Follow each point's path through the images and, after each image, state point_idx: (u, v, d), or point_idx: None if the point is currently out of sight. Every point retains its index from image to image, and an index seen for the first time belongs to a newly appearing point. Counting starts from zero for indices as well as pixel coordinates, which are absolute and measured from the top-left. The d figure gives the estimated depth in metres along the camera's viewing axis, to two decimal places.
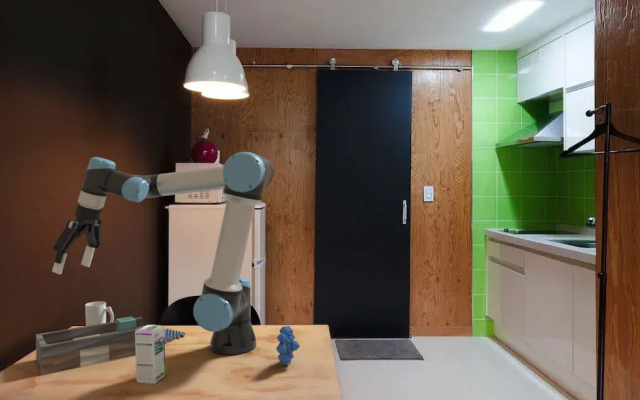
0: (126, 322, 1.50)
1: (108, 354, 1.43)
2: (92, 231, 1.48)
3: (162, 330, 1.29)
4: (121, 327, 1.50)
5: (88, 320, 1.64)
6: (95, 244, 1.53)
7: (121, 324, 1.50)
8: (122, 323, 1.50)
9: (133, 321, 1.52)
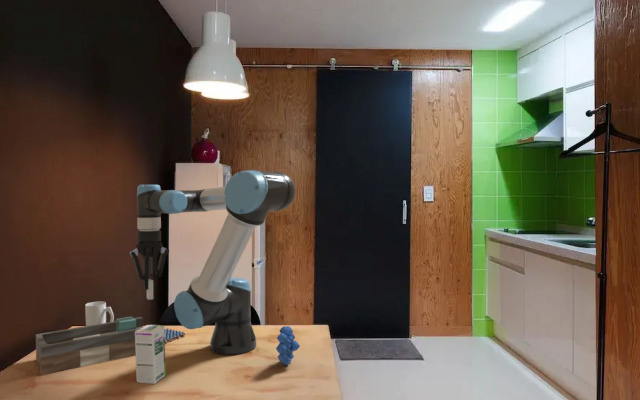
0: (126, 322, 1.50)
1: (108, 354, 1.43)
2: (154, 255, 1.56)
3: (162, 330, 1.29)
4: (121, 327, 1.50)
5: (88, 320, 1.64)
6: (154, 275, 1.57)
7: (121, 324, 1.50)
8: (122, 323, 1.50)
9: (133, 321, 1.52)
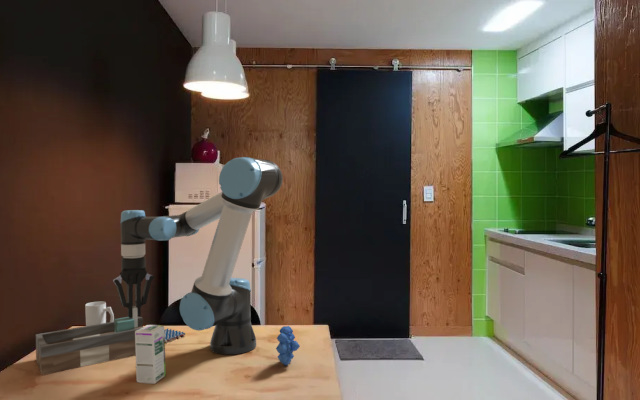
0: (124, 322, 1.50)
1: (108, 354, 1.43)
2: (138, 282, 1.53)
3: (162, 330, 1.29)
4: (119, 327, 1.49)
5: (88, 320, 1.64)
6: (138, 302, 1.54)
7: (119, 324, 1.49)
8: (120, 323, 1.49)
9: (131, 321, 1.51)
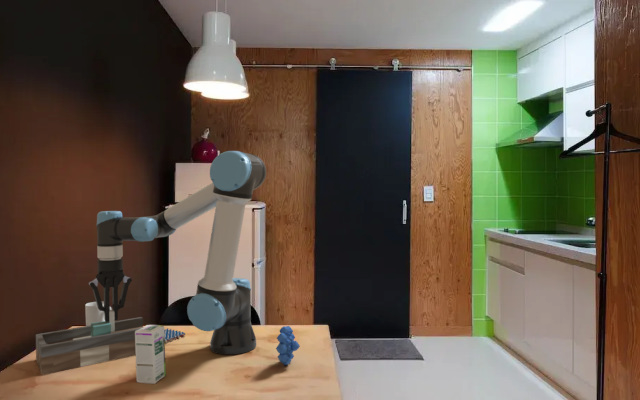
0: (100, 326, 1.46)
1: (108, 354, 1.43)
2: (115, 285, 1.49)
3: (162, 330, 1.29)
4: (95, 332, 1.45)
5: (88, 320, 1.64)
6: (115, 306, 1.50)
7: (95, 329, 1.45)
8: (96, 327, 1.45)
9: (108, 325, 1.47)
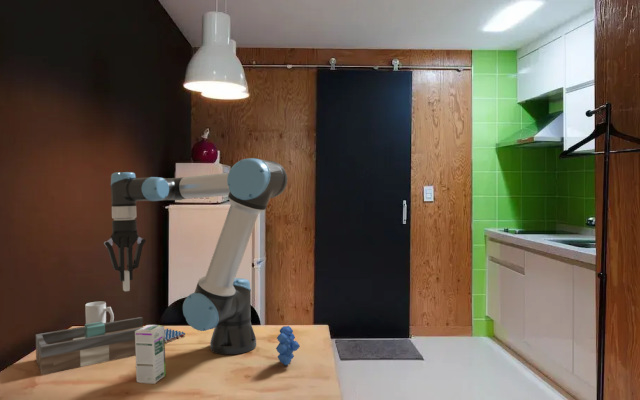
0: (94, 328, 1.45)
1: (108, 354, 1.43)
2: (129, 245, 1.51)
3: (162, 330, 1.29)
4: (89, 333, 1.44)
5: (88, 320, 1.64)
6: (130, 265, 1.52)
7: (89, 330, 1.44)
8: (90, 329, 1.44)
9: (102, 326, 1.46)
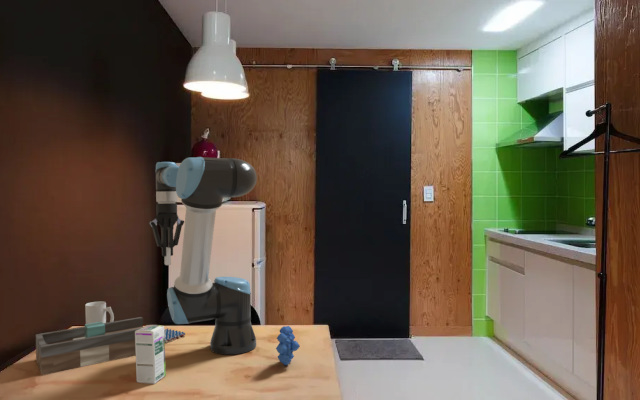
0: (94, 328, 1.45)
1: (108, 354, 1.43)
2: (171, 225, 1.75)
3: (162, 330, 1.29)
4: (89, 333, 1.44)
5: (88, 320, 1.64)
6: (171, 243, 1.75)
7: (89, 330, 1.44)
8: (90, 329, 1.44)
9: (102, 326, 1.46)
